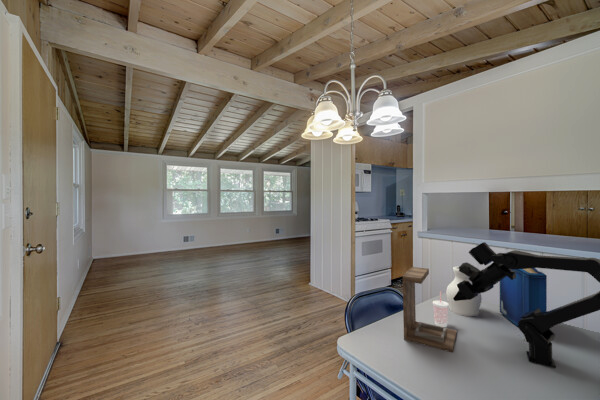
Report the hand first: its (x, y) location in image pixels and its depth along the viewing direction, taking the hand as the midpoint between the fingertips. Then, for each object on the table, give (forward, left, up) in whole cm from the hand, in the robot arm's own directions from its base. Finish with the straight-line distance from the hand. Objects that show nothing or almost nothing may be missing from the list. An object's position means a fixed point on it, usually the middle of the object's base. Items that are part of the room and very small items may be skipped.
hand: (459, 297), depth 107 cm
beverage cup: (+3, +7, -14) cm, 16 cm away
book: (+20, -21, -14) cm, 32 cm away
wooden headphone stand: (-10, +9, -14) cm, 19 cm away
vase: (+24, 0, -14) cm, 27 cm away
